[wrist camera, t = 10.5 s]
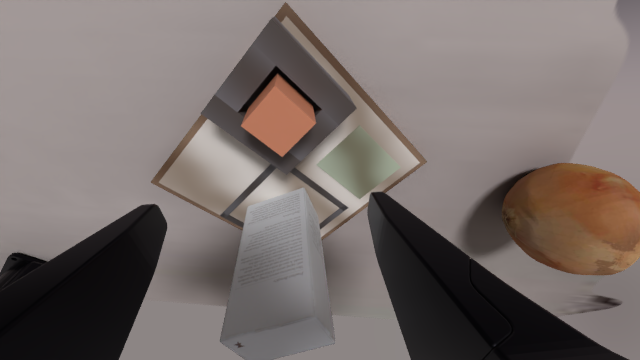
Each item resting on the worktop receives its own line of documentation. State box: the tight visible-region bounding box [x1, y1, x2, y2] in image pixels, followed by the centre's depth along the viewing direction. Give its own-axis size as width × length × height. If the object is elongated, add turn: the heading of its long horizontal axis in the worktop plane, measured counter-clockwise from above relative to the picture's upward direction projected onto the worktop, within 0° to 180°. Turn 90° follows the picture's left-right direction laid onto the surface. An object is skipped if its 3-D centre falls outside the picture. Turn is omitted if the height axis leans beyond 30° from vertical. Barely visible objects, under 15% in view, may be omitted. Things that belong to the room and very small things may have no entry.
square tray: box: [151, 2, 427, 241], centre depth 21 cm, size 18×17×4 cm
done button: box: [241, 73, 316, 157], centre depth 15 cm, size 3×3×3 cm
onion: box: [502, 163, 640, 275], centre depth 23 cm, size 10×10×10 cm
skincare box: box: [220, 188, 335, 360], centre depth 20 cm, size 6×4×12 cm
